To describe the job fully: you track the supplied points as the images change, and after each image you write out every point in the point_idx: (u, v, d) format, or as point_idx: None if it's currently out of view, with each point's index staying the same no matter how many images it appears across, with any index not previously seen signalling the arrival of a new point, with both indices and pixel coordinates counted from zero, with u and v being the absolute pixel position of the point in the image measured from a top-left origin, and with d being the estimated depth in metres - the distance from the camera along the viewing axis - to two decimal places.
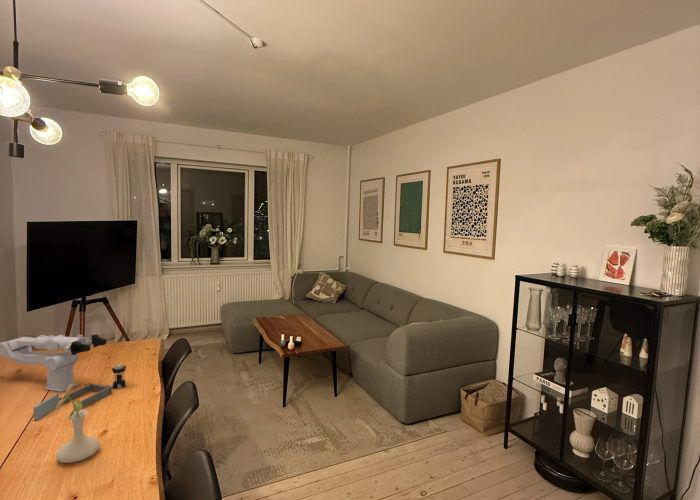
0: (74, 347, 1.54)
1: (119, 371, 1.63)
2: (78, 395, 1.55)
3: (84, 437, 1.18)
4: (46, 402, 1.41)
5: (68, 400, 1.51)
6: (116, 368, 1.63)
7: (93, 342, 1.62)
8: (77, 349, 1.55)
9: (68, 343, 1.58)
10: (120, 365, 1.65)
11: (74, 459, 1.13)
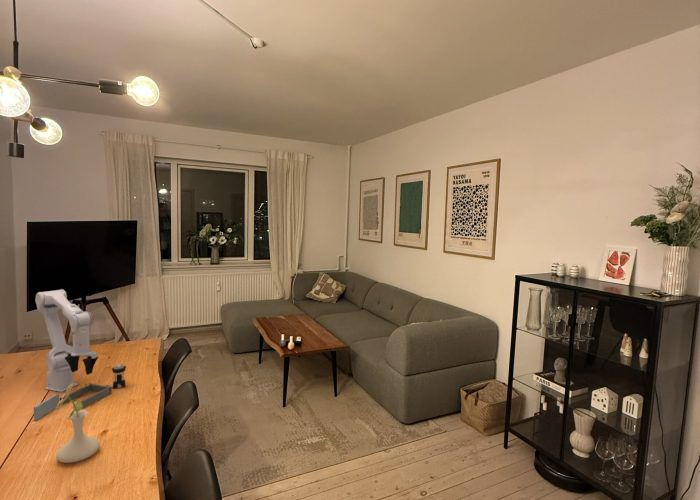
0: None
1: (119, 371, 1.63)
2: (78, 395, 1.55)
3: (84, 437, 1.18)
4: (46, 402, 1.41)
5: (68, 400, 1.51)
6: (116, 368, 1.63)
7: None
8: None
9: None
10: (120, 365, 1.65)
11: (74, 459, 1.13)
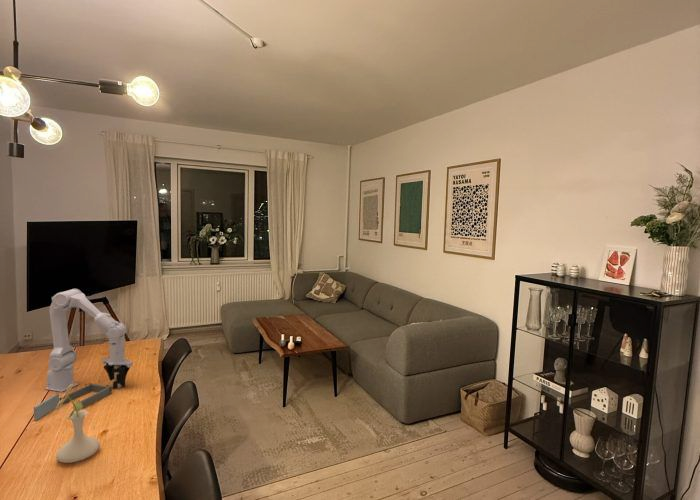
0: None
1: None
2: (78, 395, 1.55)
3: (84, 437, 1.18)
4: (46, 402, 1.41)
5: (68, 400, 1.51)
6: (115, 367, 1.63)
7: None
8: None
9: None
10: None
11: (74, 459, 1.13)
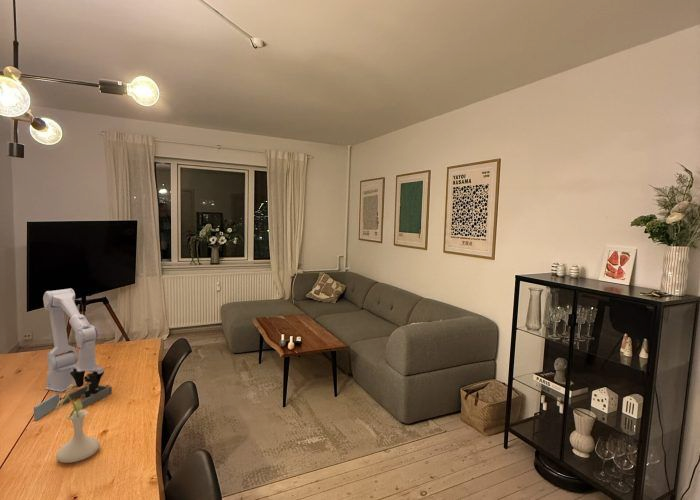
0: None
1: None
2: (78, 395, 1.55)
3: (84, 437, 1.18)
4: (46, 402, 1.41)
5: (68, 400, 1.51)
6: (88, 377, 1.53)
7: None
8: None
9: None
10: None
11: (74, 459, 1.13)
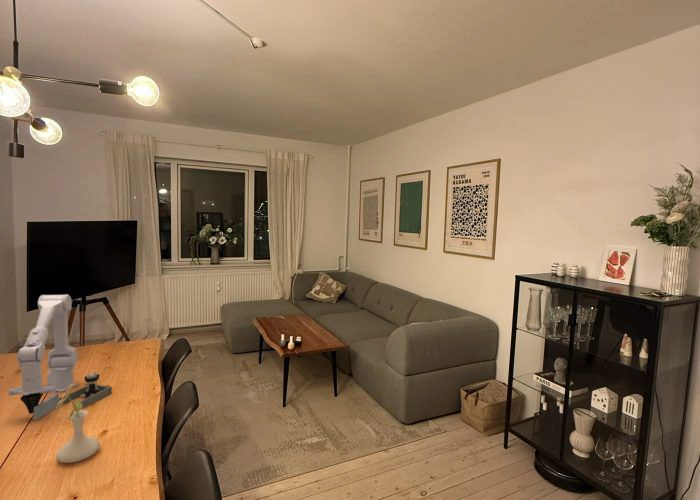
0: None
1: (91, 380, 1.53)
2: (78, 395, 1.55)
3: (84, 437, 1.18)
4: (46, 402, 1.41)
5: (68, 400, 1.51)
6: (88, 377, 1.53)
7: None
8: None
9: None
10: (93, 373, 1.55)
11: (74, 459, 1.13)
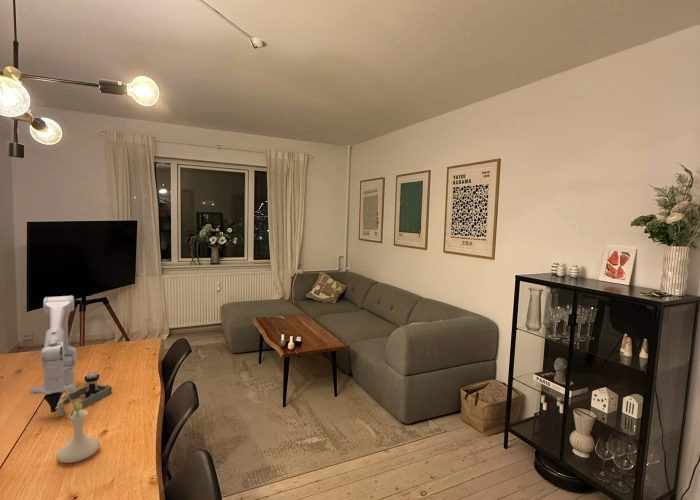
0: None
1: (91, 380, 1.53)
2: (78, 395, 1.55)
3: (84, 437, 1.18)
4: None
5: (68, 400, 1.51)
6: (88, 377, 1.53)
7: None
8: None
9: (44, 380, 1.37)
10: (93, 373, 1.55)
11: (74, 459, 1.13)
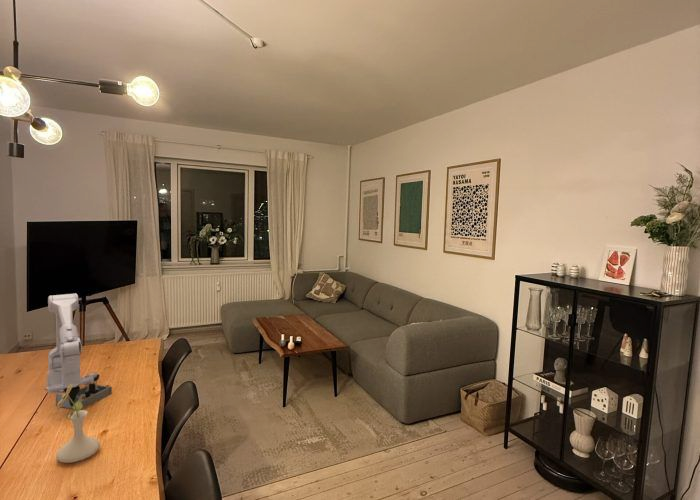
0: None
1: None
2: (78, 395, 1.55)
3: (84, 437, 1.18)
4: None
5: None
6: None
7: None
8: None
9: (63, 377, 1.40)
10: (93, 373, 1.55)
11: (74, 459, 1.13)
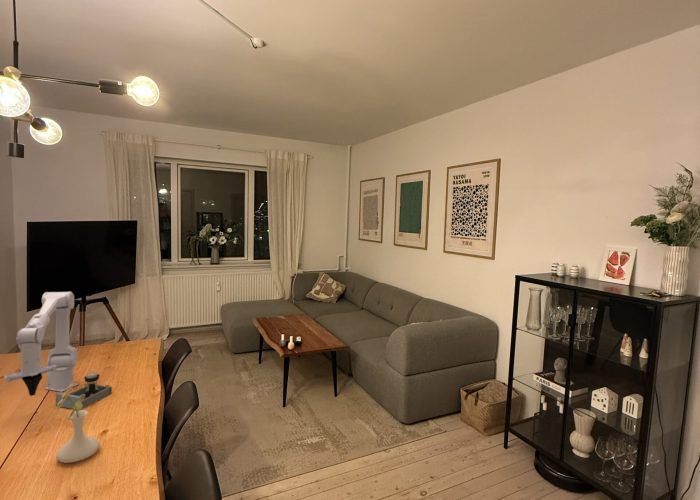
0: None
1: (91, 380, 1.53)
2: (78, 395, 1.55)
3: (84, 437, 1.18)
4: None
5: None
6: (88, 377, 1.53)
7: (32, 377, 1.37)
8: None
9: (22, 364, 1.33)
10: (93, 373, 1.55)
11: (74, 459, 1.13)
